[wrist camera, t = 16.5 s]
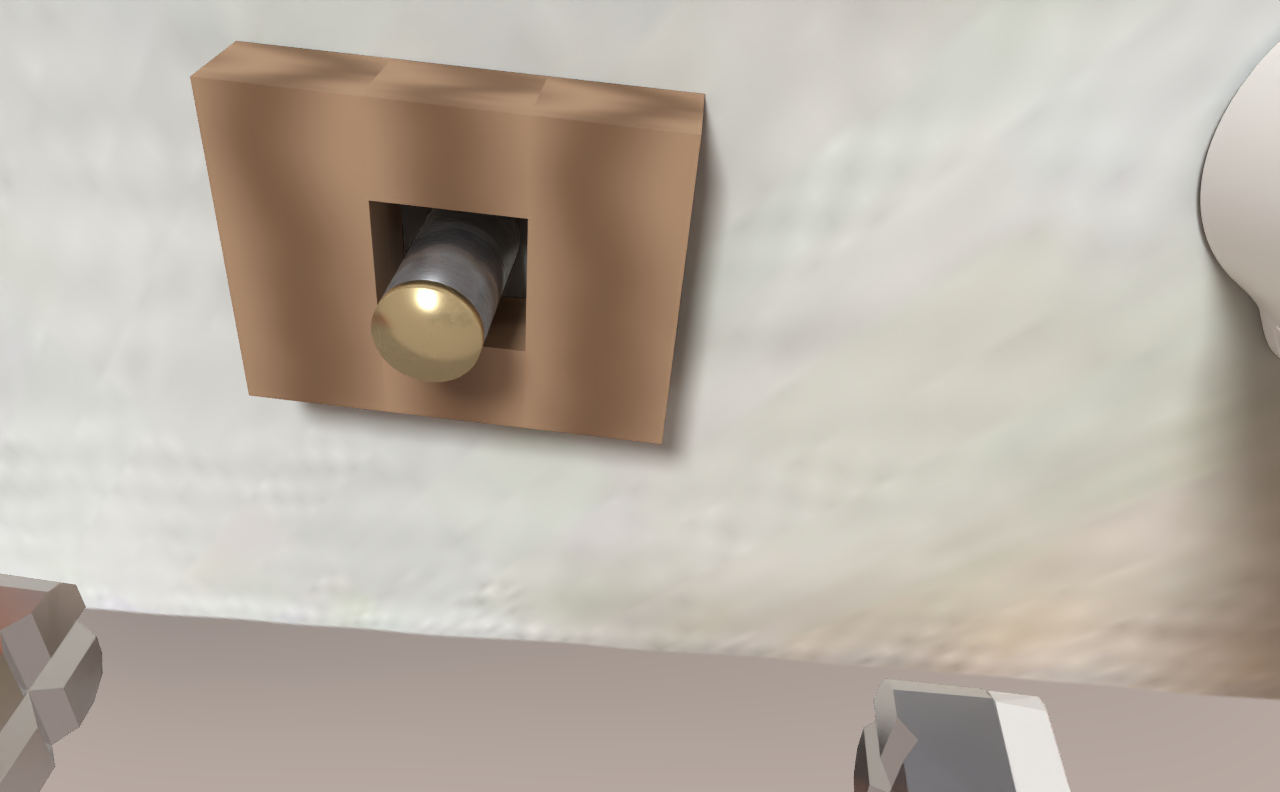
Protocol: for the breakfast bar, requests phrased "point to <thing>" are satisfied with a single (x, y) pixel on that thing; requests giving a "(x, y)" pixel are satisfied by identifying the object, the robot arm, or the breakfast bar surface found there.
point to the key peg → (445, 294)
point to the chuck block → (463, 181)
